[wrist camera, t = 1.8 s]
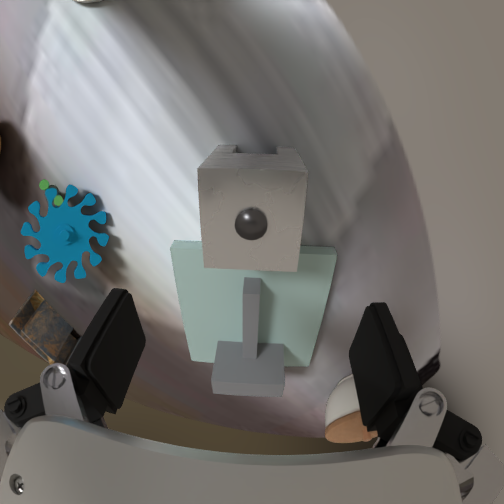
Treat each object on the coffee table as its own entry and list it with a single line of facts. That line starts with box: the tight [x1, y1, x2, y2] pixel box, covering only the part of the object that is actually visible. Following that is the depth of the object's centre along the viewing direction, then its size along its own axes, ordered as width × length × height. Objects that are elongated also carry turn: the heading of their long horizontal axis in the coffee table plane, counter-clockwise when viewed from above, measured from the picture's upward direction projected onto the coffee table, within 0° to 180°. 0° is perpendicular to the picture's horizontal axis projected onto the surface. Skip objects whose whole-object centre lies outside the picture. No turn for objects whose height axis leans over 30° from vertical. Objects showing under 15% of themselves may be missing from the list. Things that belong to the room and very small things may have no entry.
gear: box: [21, 179, 109, 283], centre depth 24 cm, size 11×6×10 cm
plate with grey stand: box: [170, 240, 337, 397], centre depth 29 cm, size 18×16×8 cm
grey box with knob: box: [197, 145, 308, 272], centre depth 20 cm, size 7×6×8 cm
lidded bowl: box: [325, 374, 378, 443], centre depth 36 cm, size 13×13×11 cm
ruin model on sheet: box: [9, 290, 82, 366], centre depth 32 cm, size 11×3×10 cm, turn 34°
